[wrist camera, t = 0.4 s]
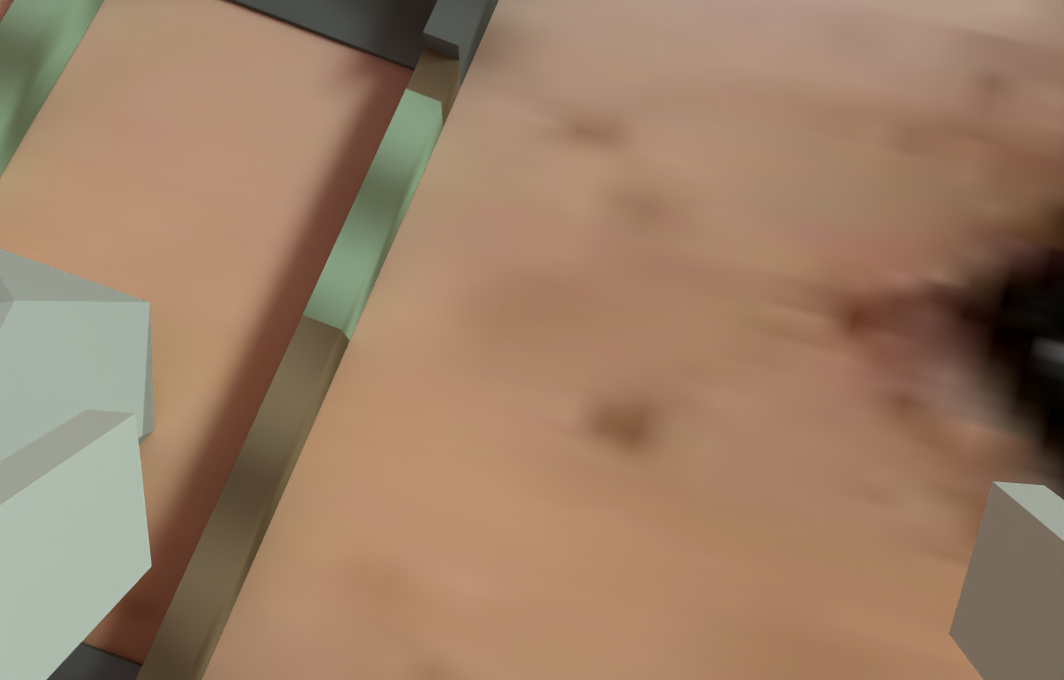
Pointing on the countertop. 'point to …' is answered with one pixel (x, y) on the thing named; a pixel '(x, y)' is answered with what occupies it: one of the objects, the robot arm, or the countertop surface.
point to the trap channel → (333, 309)
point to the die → (68, 352)
